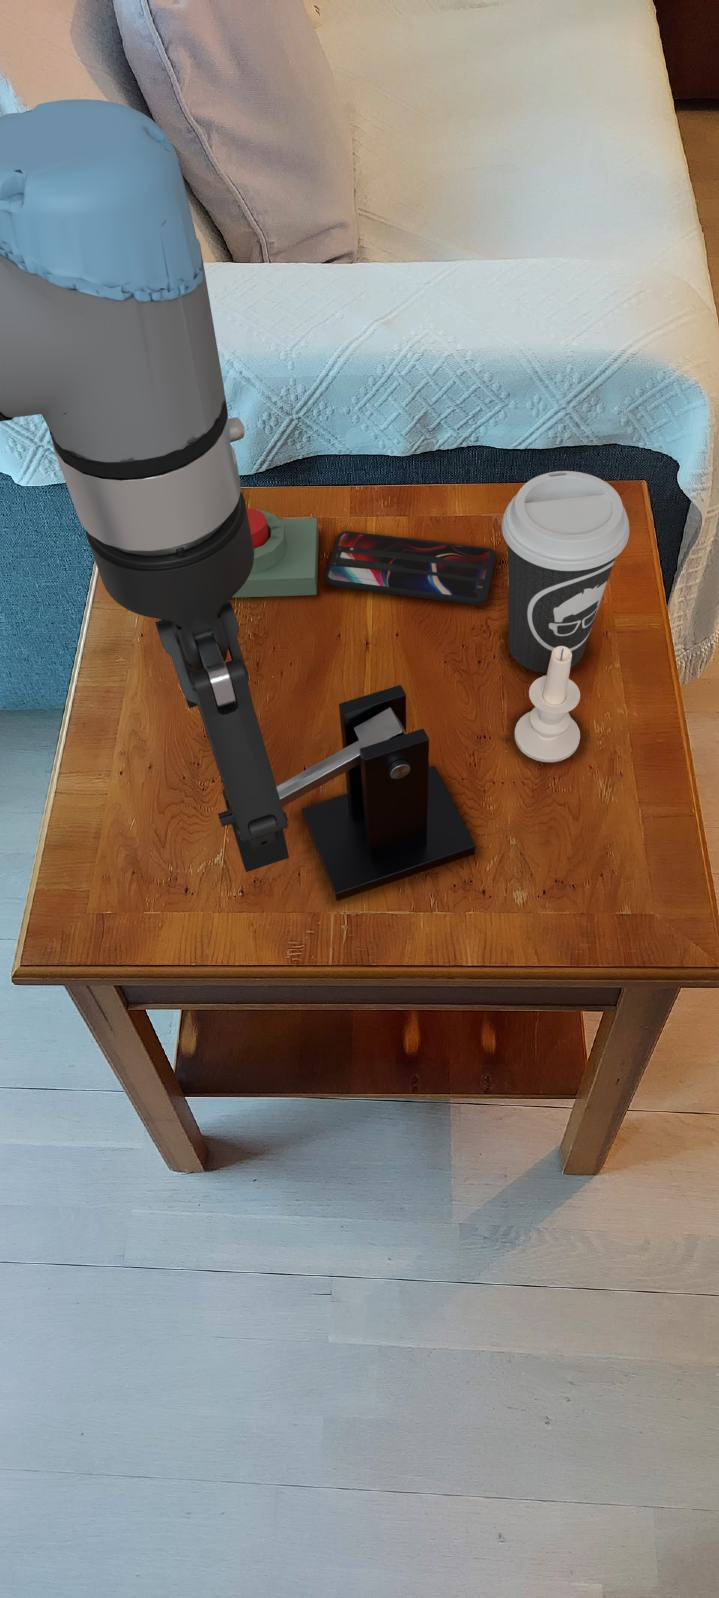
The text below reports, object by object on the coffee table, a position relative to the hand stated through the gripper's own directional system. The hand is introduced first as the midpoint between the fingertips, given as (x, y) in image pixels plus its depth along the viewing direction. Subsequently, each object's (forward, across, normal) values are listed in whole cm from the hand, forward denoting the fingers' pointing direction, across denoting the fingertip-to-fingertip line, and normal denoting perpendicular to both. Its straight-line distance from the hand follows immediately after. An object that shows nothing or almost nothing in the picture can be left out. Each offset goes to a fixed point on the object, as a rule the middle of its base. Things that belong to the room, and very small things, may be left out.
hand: (234, 774), depth 64 cm
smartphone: (+13, +26, -22) cm, 37 cm away
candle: (+14, +4, -25) cm, 29 cm away
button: (+9, +32, -9) cm, 35 cm away
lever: (+4, 0, -6) cm, 7 cm away
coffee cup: (+14, +13, -30) cm, 35 cm away
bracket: (+13, 0, -10) cm, 17 cm away
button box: (+13, +32, -9) cm, 36 cm away
